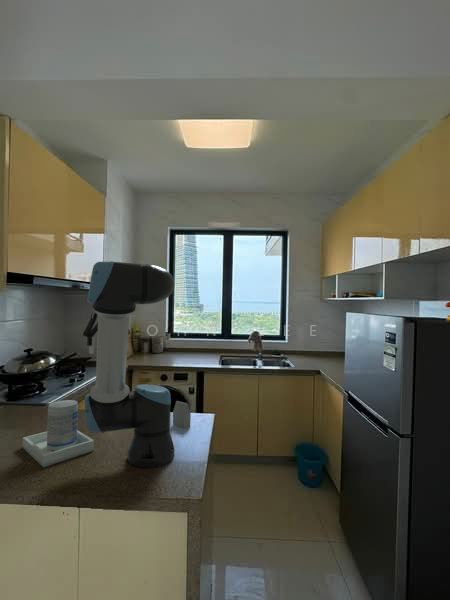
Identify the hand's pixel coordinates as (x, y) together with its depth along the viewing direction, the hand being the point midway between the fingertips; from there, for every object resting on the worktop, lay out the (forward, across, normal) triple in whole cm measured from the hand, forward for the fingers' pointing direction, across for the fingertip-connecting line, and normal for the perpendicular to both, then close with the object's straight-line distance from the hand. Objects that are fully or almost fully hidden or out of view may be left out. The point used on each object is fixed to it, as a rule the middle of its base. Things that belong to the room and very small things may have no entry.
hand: (107, 352), depth 133 cm
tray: (+30, +23, +9) cm, 39 cm away
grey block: (+31, -21, +24) cm, 45 cm away
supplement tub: (+30, +21, +9) cm, 38 cm away
